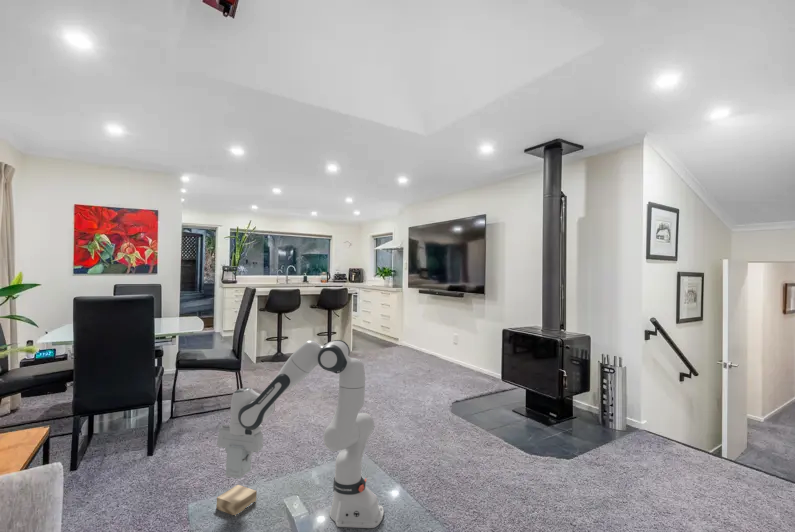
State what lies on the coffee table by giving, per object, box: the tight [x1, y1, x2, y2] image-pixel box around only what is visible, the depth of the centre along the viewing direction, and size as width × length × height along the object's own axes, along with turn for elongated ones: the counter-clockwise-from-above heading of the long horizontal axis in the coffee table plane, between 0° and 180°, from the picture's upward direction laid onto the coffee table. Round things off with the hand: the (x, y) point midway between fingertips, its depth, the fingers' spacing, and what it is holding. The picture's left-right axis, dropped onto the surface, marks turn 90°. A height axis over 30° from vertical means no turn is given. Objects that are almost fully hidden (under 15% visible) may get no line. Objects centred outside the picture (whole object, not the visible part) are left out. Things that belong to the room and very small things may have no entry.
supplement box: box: [225, 445, 252, 480], centre depth 157 cm, size 7×7×13 cm
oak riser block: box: [215, 484, 258, 516], centre depth 156 cm, size 11×11×5 cm
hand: (239, 459), depth 157 cm, fingers closed on supplement box, 7 cm apart
